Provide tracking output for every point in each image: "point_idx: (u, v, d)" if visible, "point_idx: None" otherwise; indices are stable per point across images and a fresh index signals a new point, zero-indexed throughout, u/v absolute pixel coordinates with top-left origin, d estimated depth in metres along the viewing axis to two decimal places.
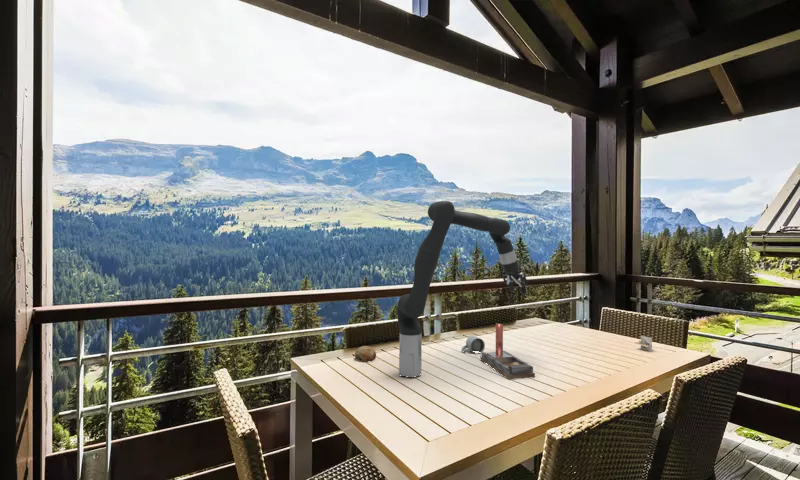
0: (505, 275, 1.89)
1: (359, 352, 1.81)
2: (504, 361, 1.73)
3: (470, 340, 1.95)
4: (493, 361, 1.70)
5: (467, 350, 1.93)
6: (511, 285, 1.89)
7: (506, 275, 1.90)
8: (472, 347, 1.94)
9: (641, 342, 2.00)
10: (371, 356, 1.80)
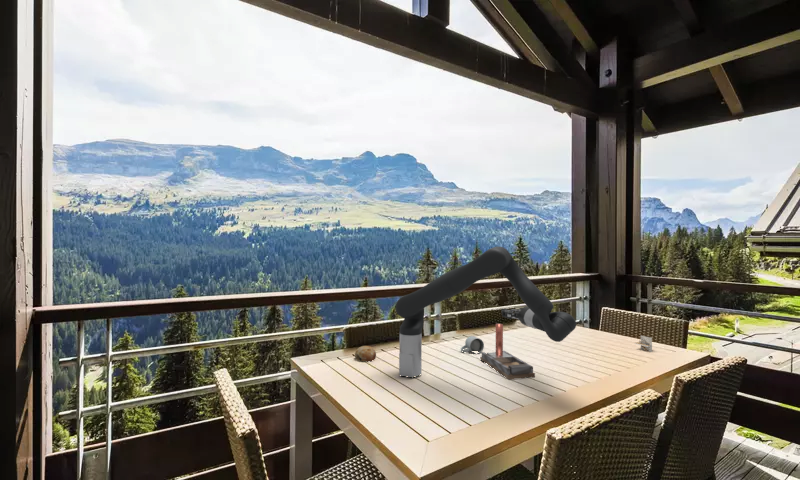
0: None
1: (359, 352, 1.81)
2: (504, 361, 1.73)
3: (469, 340, 1.95)
4: (493, 361, 1.70)
5: (466, 350, 1.93)
6: None
7: None
8: (471, 347, 1.94)
9: (641, 342, 2.00)
10: (371, 356, 1.80)
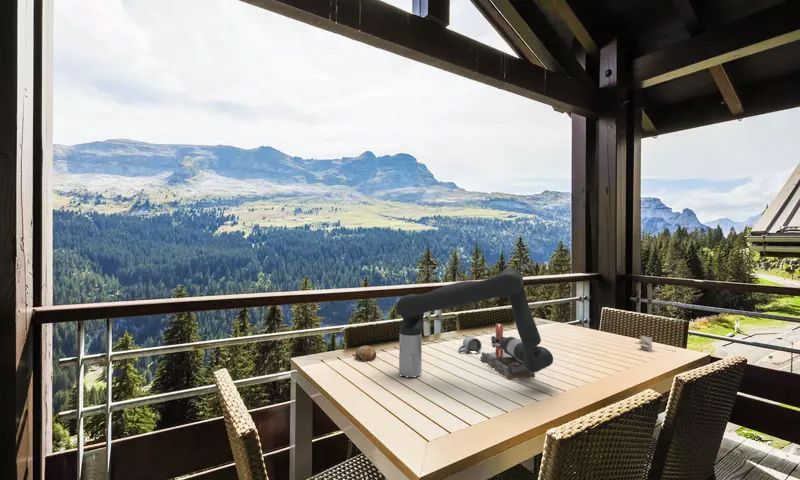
0: None
1: (359, 352, 1.82)
2: (504, 361, 1.73)
3: (467, 340, 1.95)
4: (493, 361, 1.70)
5: (464, 350, 1.93)
6: None
7: None
8: (469, 347, 1.94)
9: (641, 342, 2.00)
10: (371, 356, 1.81)
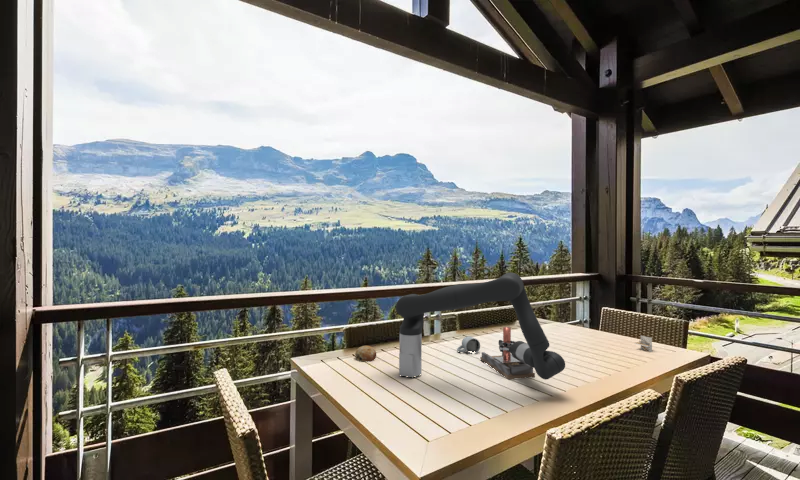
0: None
1: (359, 352, 1.82)
2: None
3: (465, 340, 1.94)
4: (493, 361, 1.70)
5: (462, 350, 1.93)
6: None
7: None
8: (467, 347, 1.94)
9: (641, 342, 2.00)
10: (371, 356, 1.81)
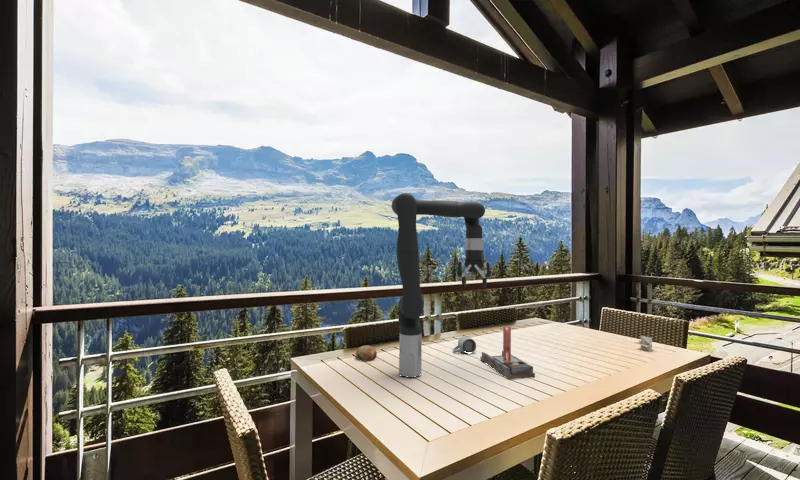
0: None
1: (360, 351, 1.82)
2: None
3: (461, 340, 1.94)
4: (493, 361, 1.70)
5: (458, 350, 1.92)
6: None
7: (487, 268, 1.67)
8: (463, 347, 1.94)
9: (641, 342, 2.00)
10: (372, 355, 1.81)
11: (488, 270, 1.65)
